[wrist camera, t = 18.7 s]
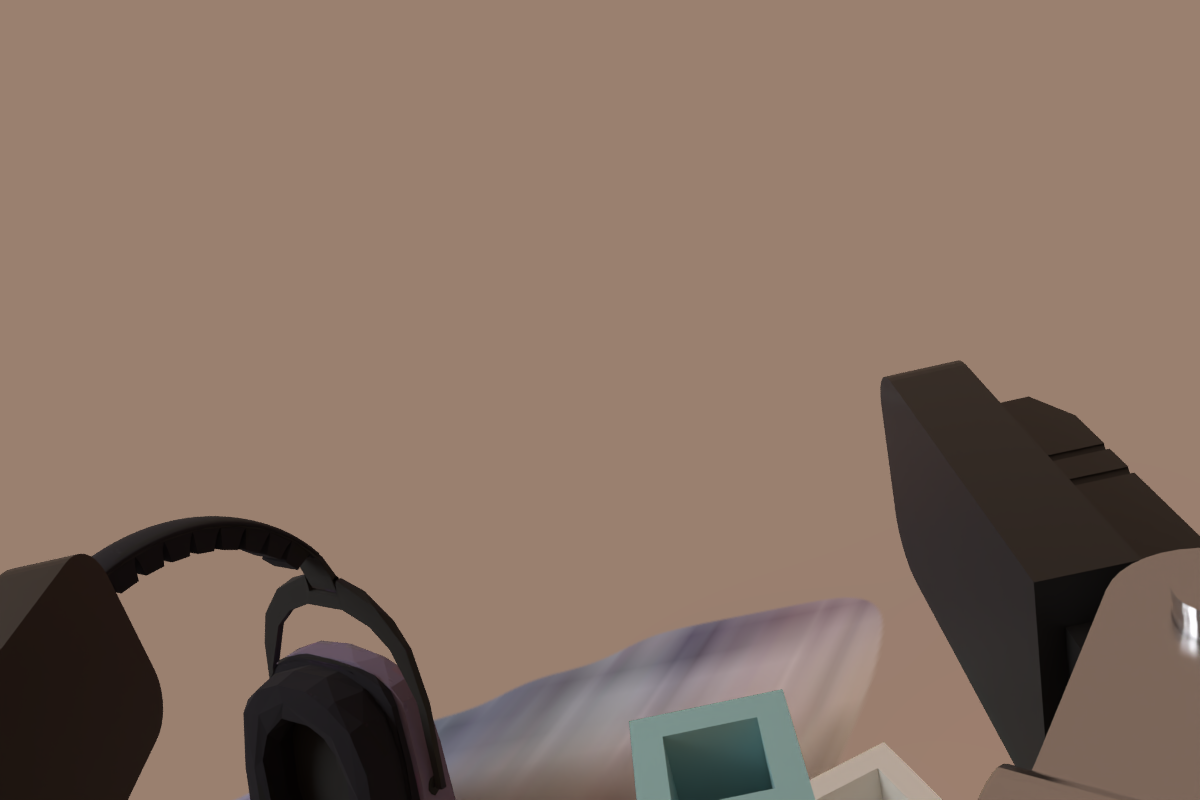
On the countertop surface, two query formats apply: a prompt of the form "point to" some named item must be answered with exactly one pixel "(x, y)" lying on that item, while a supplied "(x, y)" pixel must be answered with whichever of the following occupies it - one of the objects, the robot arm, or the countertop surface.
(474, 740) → the countertop surface
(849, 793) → the tray
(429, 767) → the headphones
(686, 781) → the sleeve
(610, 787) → the countertop surface
